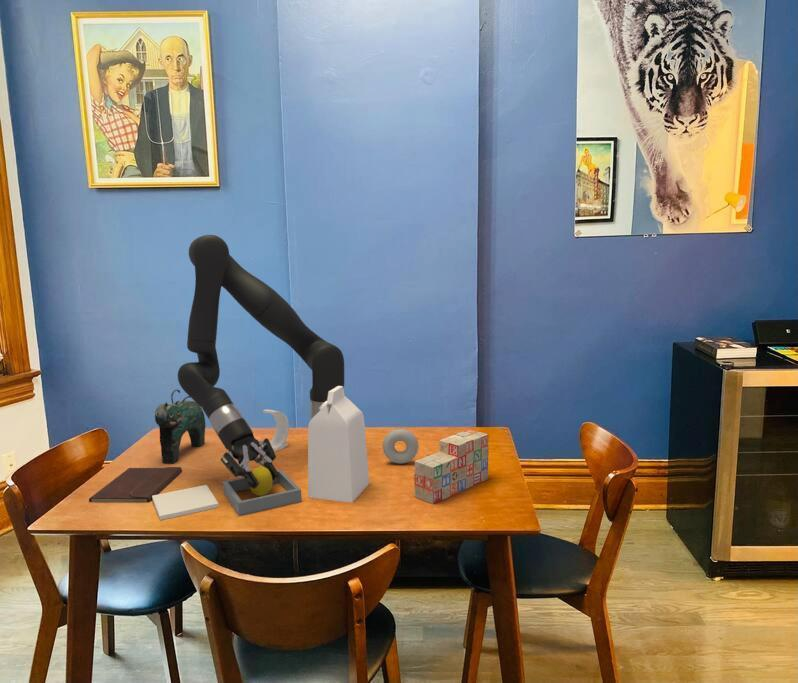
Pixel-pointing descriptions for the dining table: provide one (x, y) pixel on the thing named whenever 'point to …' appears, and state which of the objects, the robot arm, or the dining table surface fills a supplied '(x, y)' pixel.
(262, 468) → the lemon
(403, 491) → the dining table surface
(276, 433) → the headphone stand
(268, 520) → the dining table surface
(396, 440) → the donut
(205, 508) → the board
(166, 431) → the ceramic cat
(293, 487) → the grey square frame
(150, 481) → the notebook
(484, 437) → the stack of blocks
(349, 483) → the milk
